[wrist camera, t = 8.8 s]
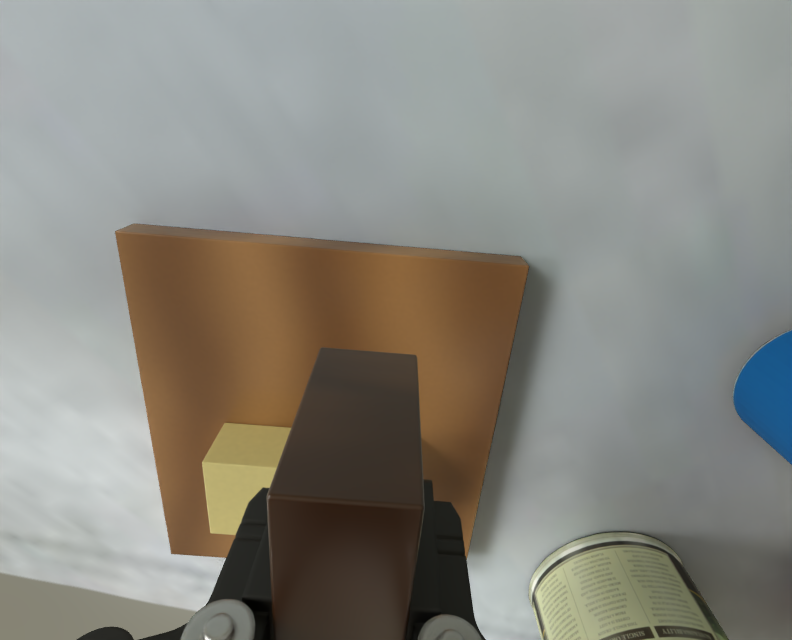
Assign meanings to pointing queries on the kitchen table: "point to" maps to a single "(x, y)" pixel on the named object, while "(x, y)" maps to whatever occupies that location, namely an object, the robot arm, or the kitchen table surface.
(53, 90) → the kitchen table surface
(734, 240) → the kitchen table surface
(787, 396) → the beverage can
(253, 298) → the board
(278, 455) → the butter
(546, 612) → the coffee can
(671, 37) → the kitchen table surface
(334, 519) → the knife
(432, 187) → the kitchen table surface
